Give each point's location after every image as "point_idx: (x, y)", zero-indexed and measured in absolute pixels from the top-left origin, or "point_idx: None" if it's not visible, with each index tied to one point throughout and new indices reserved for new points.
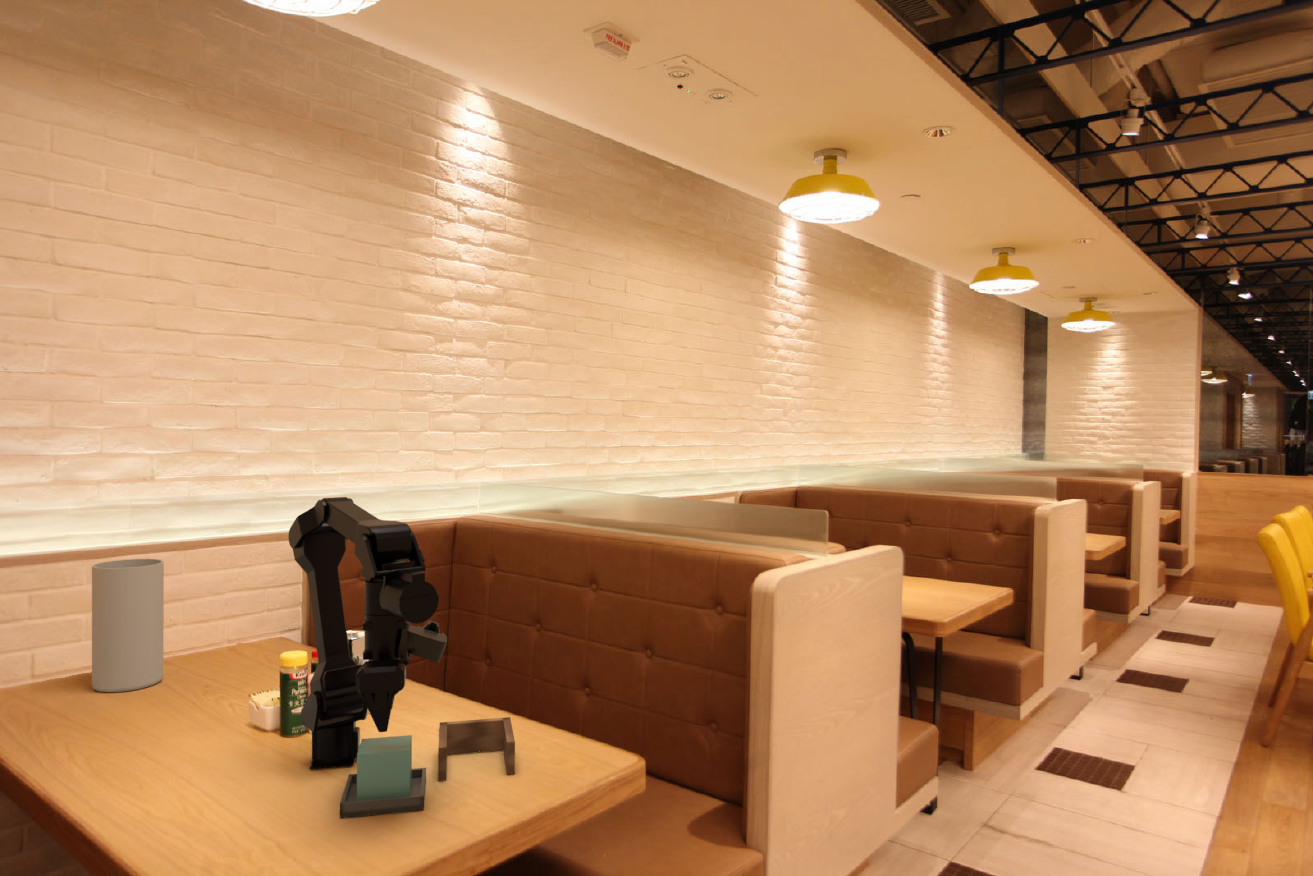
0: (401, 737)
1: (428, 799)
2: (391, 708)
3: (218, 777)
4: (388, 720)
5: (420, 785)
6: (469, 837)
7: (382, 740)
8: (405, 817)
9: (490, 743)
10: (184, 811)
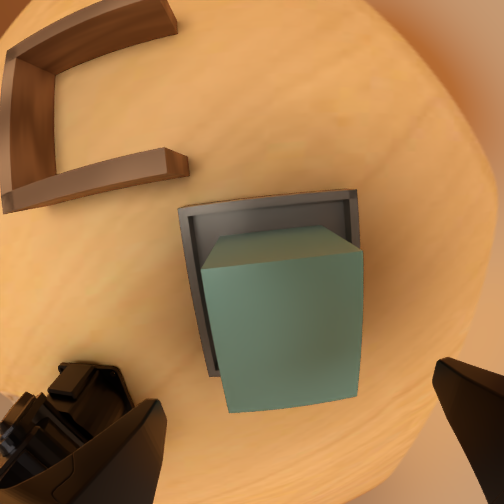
0: (223, 304)
1: (289, 184)
2: (157, 402)
3: (174, 491)
4: (487, 371)
5: (242, 210)
6: (446, 104)
7: (247, 360)
8: (369, 223)
9: (44, 94)
10: (272, 496)
